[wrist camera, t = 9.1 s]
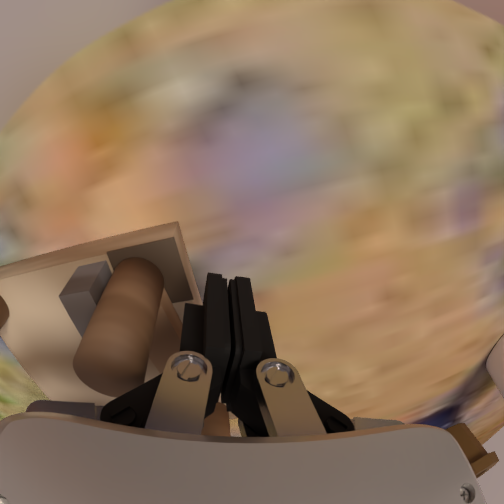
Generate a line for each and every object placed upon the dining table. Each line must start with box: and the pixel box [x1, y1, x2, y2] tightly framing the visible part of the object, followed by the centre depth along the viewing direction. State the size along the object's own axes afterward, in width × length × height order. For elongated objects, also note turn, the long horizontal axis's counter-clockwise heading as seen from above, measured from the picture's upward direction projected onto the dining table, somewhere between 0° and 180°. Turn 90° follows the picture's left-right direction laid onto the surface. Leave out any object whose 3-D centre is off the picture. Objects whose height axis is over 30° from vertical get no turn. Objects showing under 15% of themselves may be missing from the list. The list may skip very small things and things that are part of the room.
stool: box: [0, 222, 237, 437], centre depth 14 cm, size 14×14×8 cm
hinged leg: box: [73, 257, 204, 429], centre depth 12 cm, size 8×2×6 cm, turn 15°
